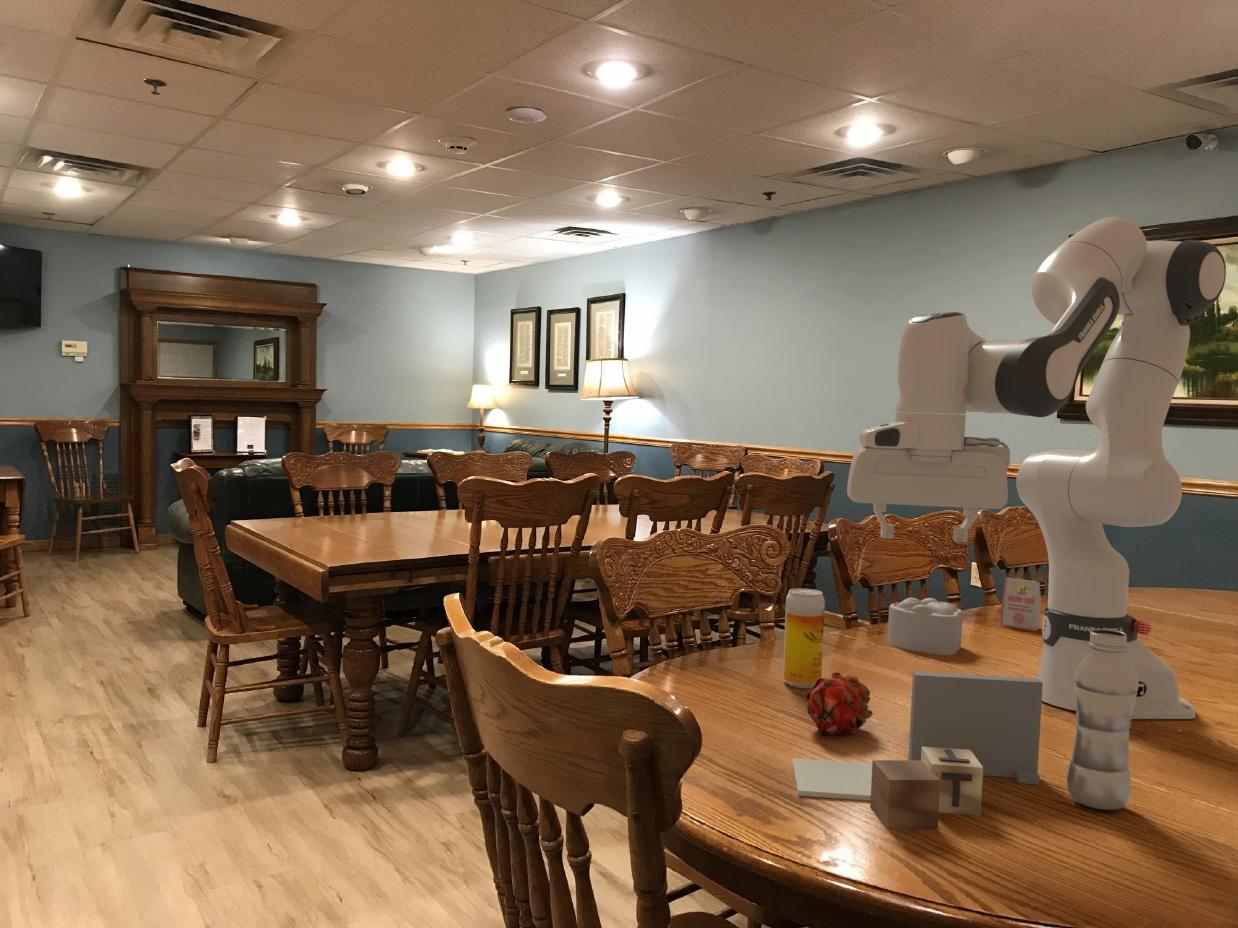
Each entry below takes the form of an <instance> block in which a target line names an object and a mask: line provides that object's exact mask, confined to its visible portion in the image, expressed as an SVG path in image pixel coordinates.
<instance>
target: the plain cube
mask: <svg viewBox="0 0 1238 928" xmlns="http://www.w3.org/2000/svg"><path fill="white" fill-rule="evenodd" d="M871 764H872V781H871V801H869V802H870V803H869V804H870V805H869V807H870V810H871V811H872V812H873V813H874V815H875V816H876V817H877V818H878V820H879V821H880V822H881V823H882V825H883V826H884V828H886V830H887V831H888V830H889V831H898V830H900V831H901V830H903V831H907V830H908V831H910V830H911V831H914V830H915V831H917V830H918V831H920V830H922V831H924V830H925V831H928V830H929V831H932V830H933V831H938V830H939V815H940V814H939V797H940V779H939V778H938V777H937V776H936V775H935V774H934V773H933V772H932V771H931V770H930V769H929V768H928V767H927V766H926V765H925V764H924V763H923V762H922V761H921V760H906V759H904V760H901V759H899V760H895V759H893V760H891V759H890V760H889V759H888V760H886V759H884V760H883V759H882V760H881V759H878V760H877V759H876V760H875V759H872V763H871Z"/></svg>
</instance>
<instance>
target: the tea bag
mask: <svg viewBox="0 0 1238 928" xmlns="http://www.w3.org/2000/svg"><path fill="white" fill-rule="evenodd" d="M1041 597H1042V596H1041V582H1040V581H1035V580H1028V579H1020V578H1012V577H1005V579H1004V586H1003V590H1002V596H1001V609H1000V624H999V625H1000V627H1004V628H1005V627H1006V628H1010V629H1018V630H1025V631H1030V632H1035V631H1037V630H1039V629H1040V624H1041V606H1042V605H1041V604H1042V598H1041Z"/></svg>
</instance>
